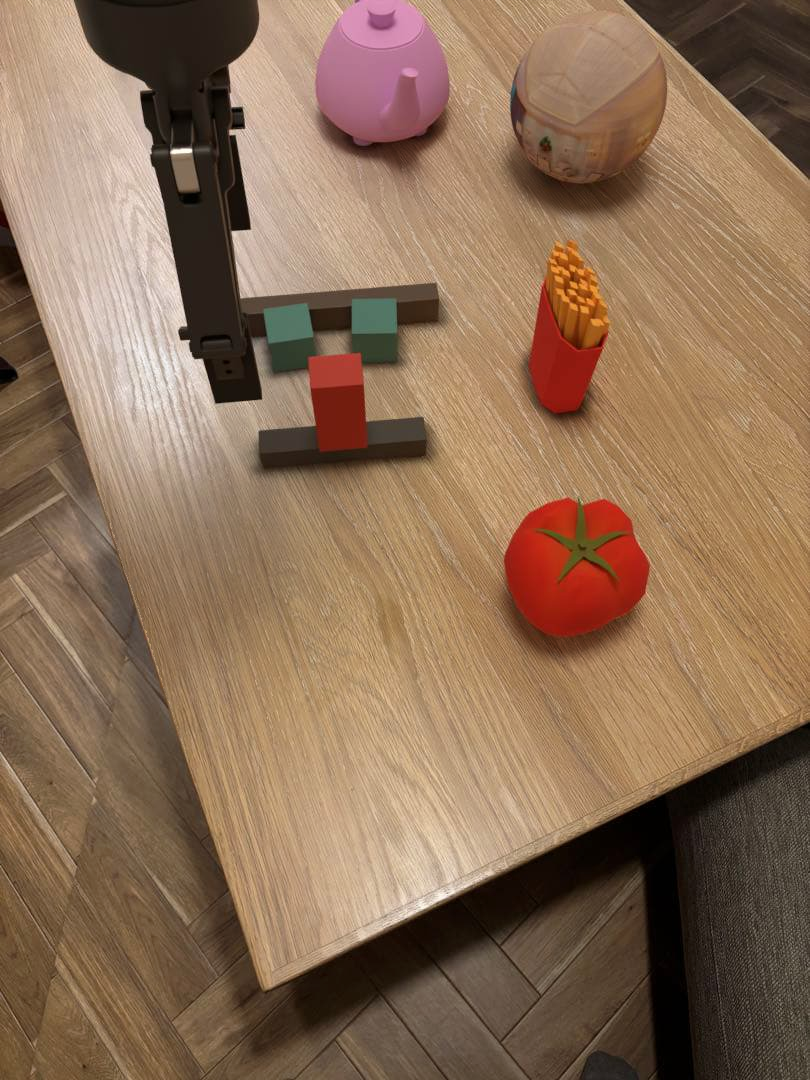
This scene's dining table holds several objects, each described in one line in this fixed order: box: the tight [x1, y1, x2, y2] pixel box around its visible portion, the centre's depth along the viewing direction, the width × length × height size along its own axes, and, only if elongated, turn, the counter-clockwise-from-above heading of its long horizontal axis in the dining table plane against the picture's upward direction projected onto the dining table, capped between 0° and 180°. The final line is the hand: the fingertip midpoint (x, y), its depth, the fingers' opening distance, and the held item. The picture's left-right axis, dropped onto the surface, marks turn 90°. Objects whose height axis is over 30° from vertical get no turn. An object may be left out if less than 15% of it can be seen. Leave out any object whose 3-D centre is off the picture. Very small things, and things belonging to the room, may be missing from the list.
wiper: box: [257, 352, 428, 470], centre depth 70 cm, size 3×14×11 cm, turn 96°
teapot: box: [314, 0, 451, 147], centre depth 89 cm, size 20×14×12 cm
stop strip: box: [240, 282, 440, 337], centre depth 80 cm, size 2×20×3 cm, turn 97°
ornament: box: [509, 10, 668, 184], centre depth 84 cm, size 15×15×15 cm
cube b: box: [351, 298, 398, 364], centre depth 78 cm, size 4×4×4 cm
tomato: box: [503, 496, 651, 638], centre depth 65 cm, size 11×11×9 cm
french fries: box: [528, 238, 611, 414], centre depth 72 cm, size 9×4×13 cm, turn 11°
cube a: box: [263, 303, 317, 373], centre depth 78 cm, size 4×4×4 cm
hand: (234, 307), depth 53 cm, fingers open, 13 cm apart
